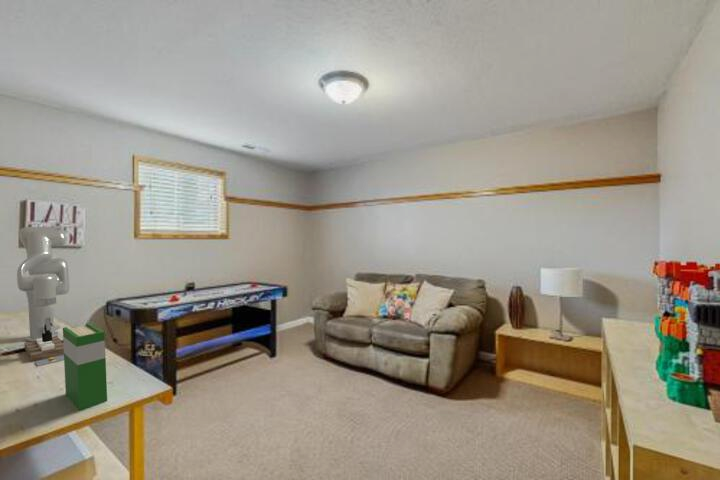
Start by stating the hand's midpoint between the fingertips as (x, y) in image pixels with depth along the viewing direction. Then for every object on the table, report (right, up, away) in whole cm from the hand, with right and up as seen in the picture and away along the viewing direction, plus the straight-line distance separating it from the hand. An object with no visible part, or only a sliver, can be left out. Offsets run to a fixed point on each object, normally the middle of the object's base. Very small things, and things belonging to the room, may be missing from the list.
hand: (47, 341), depth 155 cm
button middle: (-5, -4, +5) cm, 8 cm away
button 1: (-11, -4, +9) cm, 15 cm away
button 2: (0, -4, 0) cm, 4 cm away
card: (+8, -7, -7) cm, 13 cm away
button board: (-5, -6, +5) cm, 10 cm away
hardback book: (+51, -8, -39) cm, 65 cm away
